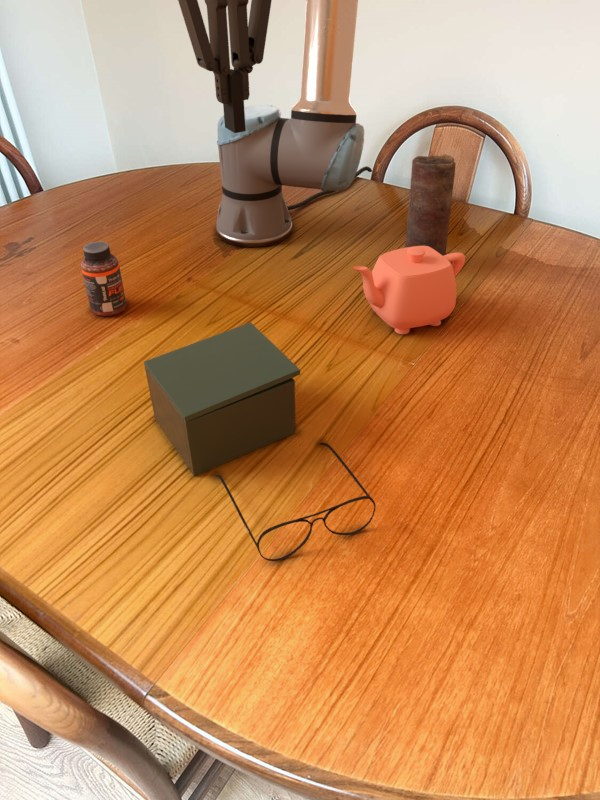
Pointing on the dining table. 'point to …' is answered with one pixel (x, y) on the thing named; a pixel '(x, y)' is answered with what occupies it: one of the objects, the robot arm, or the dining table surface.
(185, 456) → the chest
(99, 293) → the supplement bottle
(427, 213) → the candle
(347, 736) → the dining table surface
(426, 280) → the teapot
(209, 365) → the lid
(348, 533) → the glasses
